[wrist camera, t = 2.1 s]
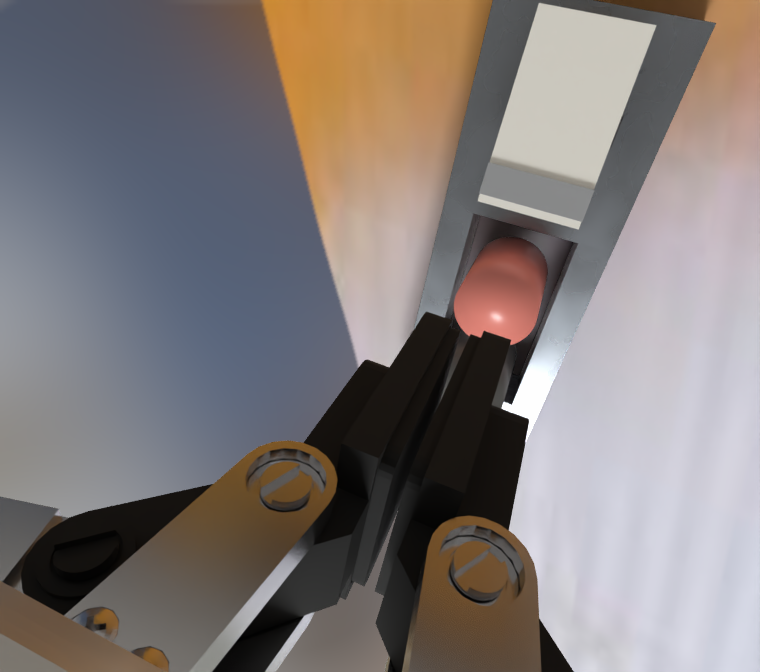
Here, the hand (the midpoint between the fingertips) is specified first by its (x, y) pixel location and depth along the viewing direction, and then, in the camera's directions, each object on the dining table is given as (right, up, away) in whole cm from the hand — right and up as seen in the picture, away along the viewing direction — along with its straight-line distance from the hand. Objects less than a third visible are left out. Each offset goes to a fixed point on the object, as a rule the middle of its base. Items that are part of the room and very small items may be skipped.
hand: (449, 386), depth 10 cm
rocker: (+5, +9, +9) cm, 14 cm away
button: (+5, +4, +16) cm, 17 cm away
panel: (+6, +6, +17) cm, 19 cm away
